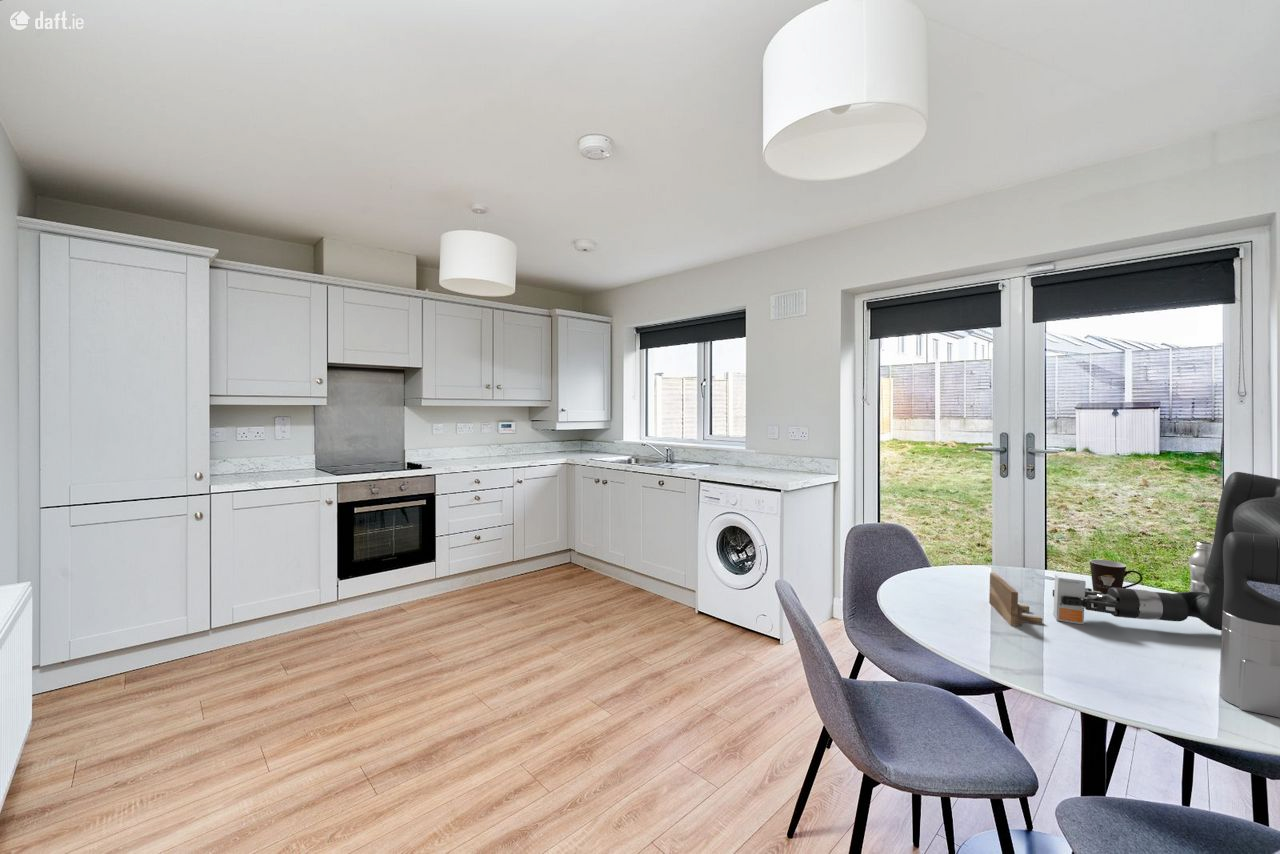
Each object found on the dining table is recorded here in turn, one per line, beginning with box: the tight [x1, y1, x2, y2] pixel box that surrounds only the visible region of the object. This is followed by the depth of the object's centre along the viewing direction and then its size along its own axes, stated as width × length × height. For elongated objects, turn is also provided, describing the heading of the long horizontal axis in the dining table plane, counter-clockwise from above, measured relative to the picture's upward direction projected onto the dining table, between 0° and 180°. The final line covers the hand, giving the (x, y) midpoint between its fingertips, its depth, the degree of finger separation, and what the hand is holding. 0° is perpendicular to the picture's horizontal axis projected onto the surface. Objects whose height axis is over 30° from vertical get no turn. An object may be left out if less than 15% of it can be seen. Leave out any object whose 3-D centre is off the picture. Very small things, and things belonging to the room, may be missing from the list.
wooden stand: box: [988, 572, 1043, 627], centre depth 151 cm, size 8×18×9 cm, turn 163°
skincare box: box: [1053, 573, 1086, 625], centre depth 147 cm, size 6×4×12 cm
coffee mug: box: [1089, 558, 1144, 594], centre depth 167 cm, size 12×9×10 cm
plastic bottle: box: [1187, 541, 1213, 593], centre depth 153 cm, size 6×7×20 cm
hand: (1057, 596), depth 148 cm, fingers closed on skincare box, 5 cm apart
